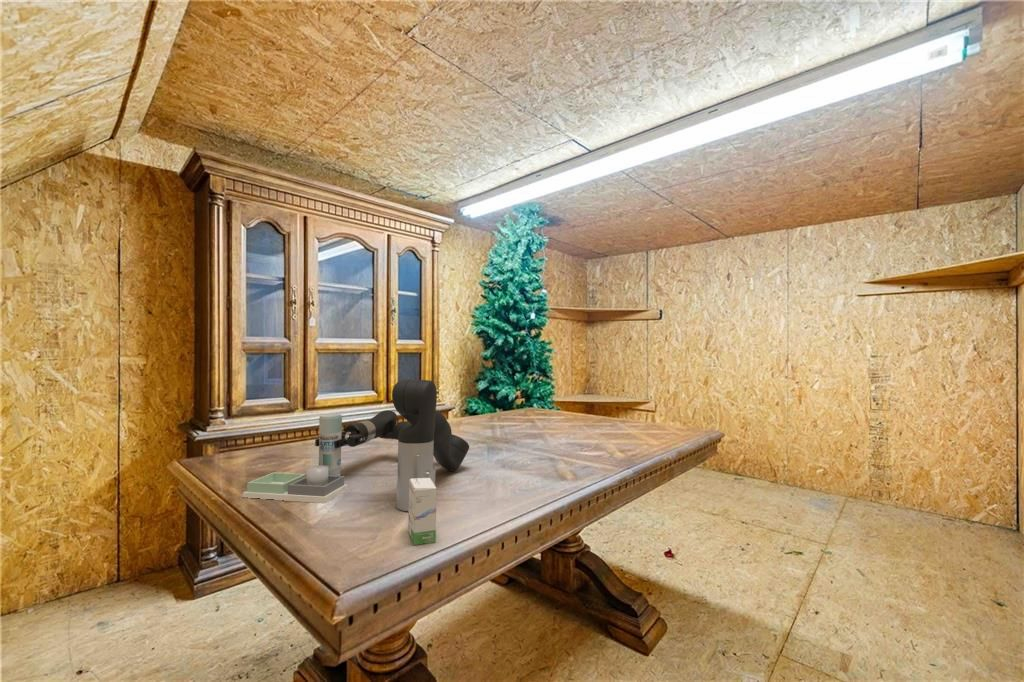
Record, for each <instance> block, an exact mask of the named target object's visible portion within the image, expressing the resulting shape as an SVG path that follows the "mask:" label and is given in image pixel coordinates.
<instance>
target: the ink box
mask: <svg viewBox="0 0 1024 682" xmlns="http://www.w3.org/2000/svg"><path fill="white" fill-rule="evenodd" d="M437 489H438V488H437V487H436V484H435V485H434V483H433V482H432V480H431V479H430V478H413V479H410V480H409V511H408V518H407V519H408V522H407V526H408V527H407V531H408V534H409V536H410V539H411V541H412V545H414V546H418V544H419V545H424V544H423V543H426V544H430V543H429V542H432V543H436V542H435V541H437V540H436V538H437V537H436V536H437Z"/></svg>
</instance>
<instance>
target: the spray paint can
mask: <svg viewBox="0 0 1024 682" xmlns="http://www.w3.org/2000/svg"><path fill="white" fill-rule="evenodd" d="M318 422H319V423H318V439H319V446H318V466H319V465H324V466H328V467H329V468H328V475H331V476H341V471H342V470H341V468H342V465H341V464H342V447H339V448H335V441H336V440H340V439H341V435H342V431H343V429H342V426H343V423H342V422H343V417H342V414H340V413H327V414H326V413H325V414H321V415H320V416H319V418H318Z"/></svg>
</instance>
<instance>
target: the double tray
mask: <svg viewBox="0 0 1024 682" xmlns="http://www.w3.org/2000/svg"><path fill="white" fill-rule="evenodd" d="M328 468H329V467H328V466H324V465H319V464H318V465H312V466H309V467H307V468H306V473H293V472H275V471H273V472H271V473H268V474H266V475H264V476H260V477H258V478H255V479H253V480H251V481H248V482H247V485H246V486H247V487H246V490H245V491H243V492H242V498H243V497H248V498H247V499H250V498H260V499H259V500H266V499H274V500H273V501H282V500H284V501H283V502H285V501H286V502H287V501H288V502H301V503H302V502H303V503H317V504H326V503H327V502H329V501H331V500H333V499H334V498H336V497H338V496H339V495H341V494H342V493H344V492H346V491H347V490H349V489H348V488H349V487H348V485H349V484H348V483H347V484H346V483H345V475H340V476H331V475H328Z"/></svg>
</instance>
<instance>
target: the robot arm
mask: <svg viewBox="0 0 1024 682" xmlns="http://www.w3.org/2000/svg"><path fill="white" fill-rule="evenodd" d="M437 389H438V388H437V385H436V384H435V382H434V381H432V380H429V379H428V380H427V379H403V380H400V381H398V382H396V383H395V384H394V386H393V388H392V391H391V400H392V403H393V407H394V408H395V411H396V412H397V413H398V414H399V415H400V416H401V417H402V418H404V420H406V421H403V420H402V421H399V422H398V415H397V413H396V412H395V411H393V410H390V409H389V410H383V411H380V412H378V413H377V414H376V415H374V416H373V417H371V419H368V420H363V421H362V420H361V421H356V422H354V423H351V424H348V425H345V427H344V428H343V429H342V435H341V439H340V440H336V441H335V448H339V447H341V448H342V447H350V448H351V447H352V448H354V447H357V446H361V445H363V444H366V443H369V442H370V441H372V440H375V439H378V438H380V439H383V440H384V439H385V440H386V439H387V440H397V441H398V444H397V451H398V452H397V474H396V475H397V477H396V478H397V479H396V508H397V509H398V510H400V511H403V512H409V480H410V479H413V478H430V479H431V480H432V482H433V483H434V485H435V486H436V466H435V467H434V459H435V461H436V462H437V464H438V465H440V466H441V468H443V469H445V470H447V471H450V470H454V471H456V470H458V469H459V468H460V466H461V464H462V463H463V461H464V460H465V457H466V456H467V454H468V451H469V450H470V444H469V443H468V441H466V440H465V439H464V438H463V437H460V436H458V435H455V434H453V433H452V427H451V425H450V423H449V421H448V420H447V418H446V416H445V415H444V414H443V413H442V412H440V411H439V410H437V401H438V400H437V398H438V391H437ZM397 422H398V423H397ZM314 442H315V445H314V446H315V447H319V438H316V439H315V441H314Z"/></svg>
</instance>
